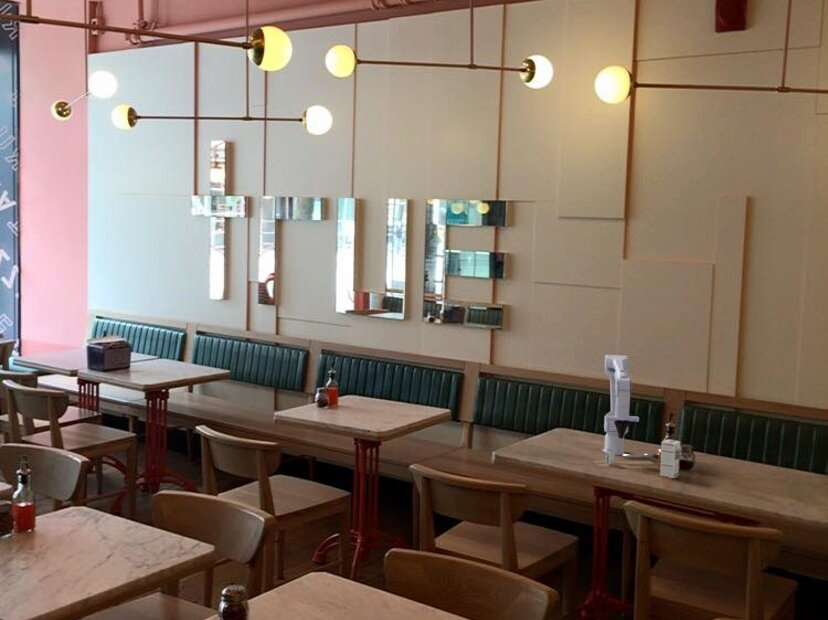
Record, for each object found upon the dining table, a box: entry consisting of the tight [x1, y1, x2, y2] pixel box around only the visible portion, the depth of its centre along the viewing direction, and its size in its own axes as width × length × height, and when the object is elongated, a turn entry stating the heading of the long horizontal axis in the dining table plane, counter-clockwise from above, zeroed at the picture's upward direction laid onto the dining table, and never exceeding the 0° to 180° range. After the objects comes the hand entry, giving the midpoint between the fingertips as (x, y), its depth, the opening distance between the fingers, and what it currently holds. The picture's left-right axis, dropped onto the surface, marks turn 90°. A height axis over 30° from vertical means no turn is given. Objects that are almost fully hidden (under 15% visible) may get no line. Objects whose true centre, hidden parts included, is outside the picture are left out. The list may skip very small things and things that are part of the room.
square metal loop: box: [604, 449, 616, 466], centre depth 395 cm, size 6×3×6 cm, turn 8°
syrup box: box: [659, 439, 681, 479], centre depth 381 cm, size 6×6×14 cm
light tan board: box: [591, 459, 660, 469], centre depth 396 cm, size 12×25×1 cm, turn 98°
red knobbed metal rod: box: [621, 448, 661, 464], centre depth 397 cm, size 18×6×6 cm, turn 98°
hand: (620, 438), depth 400 cm, fingers closed
